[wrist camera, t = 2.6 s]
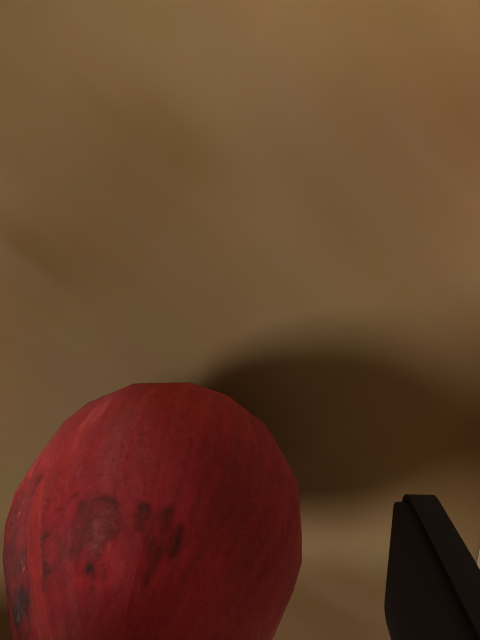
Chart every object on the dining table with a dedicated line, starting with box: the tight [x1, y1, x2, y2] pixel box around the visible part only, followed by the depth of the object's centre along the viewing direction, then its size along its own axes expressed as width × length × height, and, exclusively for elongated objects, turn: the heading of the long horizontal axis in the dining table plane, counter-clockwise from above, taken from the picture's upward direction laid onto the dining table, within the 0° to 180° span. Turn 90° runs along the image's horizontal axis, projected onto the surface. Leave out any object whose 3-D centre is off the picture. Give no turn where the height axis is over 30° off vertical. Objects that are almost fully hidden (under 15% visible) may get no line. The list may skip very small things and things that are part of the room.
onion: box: [3, 383, 302, 640], centre depth 8 cm, size 6×6×8 cm
